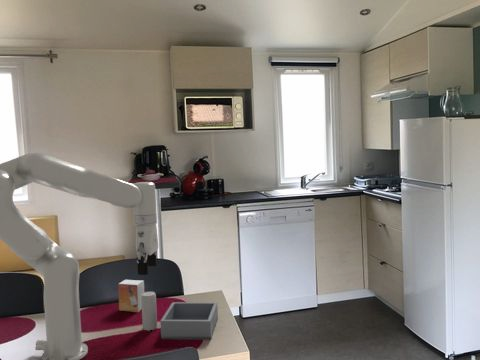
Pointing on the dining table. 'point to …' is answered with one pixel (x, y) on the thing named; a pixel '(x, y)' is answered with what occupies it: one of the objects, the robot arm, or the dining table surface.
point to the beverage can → (149, 310)
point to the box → (189, 321)
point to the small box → (130, 295)
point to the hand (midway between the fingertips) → (147, 270)
